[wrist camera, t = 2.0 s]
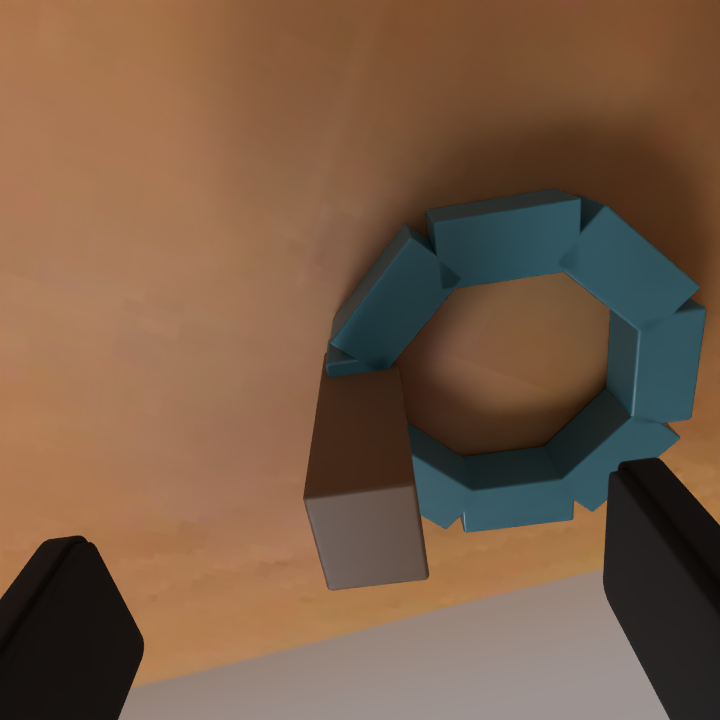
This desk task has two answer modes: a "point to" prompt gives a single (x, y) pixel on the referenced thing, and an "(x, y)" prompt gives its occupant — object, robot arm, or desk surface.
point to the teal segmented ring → (502, 469)
